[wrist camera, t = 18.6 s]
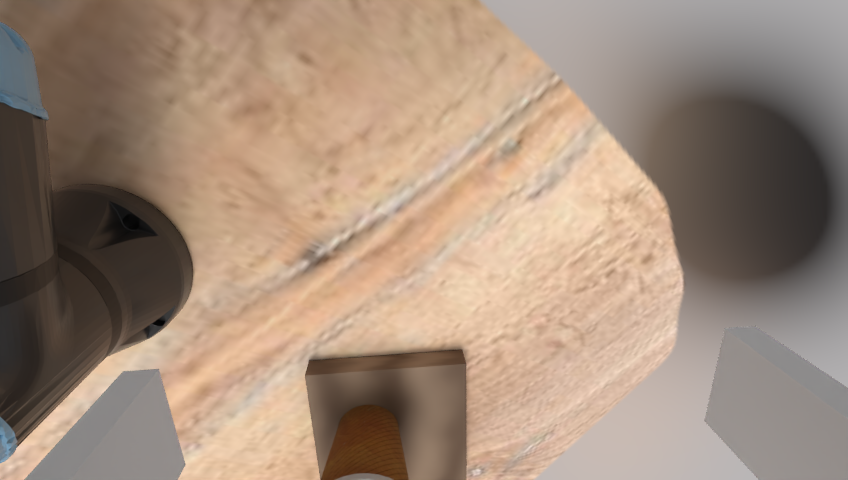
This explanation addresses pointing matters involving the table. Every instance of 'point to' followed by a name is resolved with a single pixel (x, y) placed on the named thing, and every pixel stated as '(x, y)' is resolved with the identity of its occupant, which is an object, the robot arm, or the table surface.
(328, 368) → the walnut board
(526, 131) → the table surface
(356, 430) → the disposable coffee cup
